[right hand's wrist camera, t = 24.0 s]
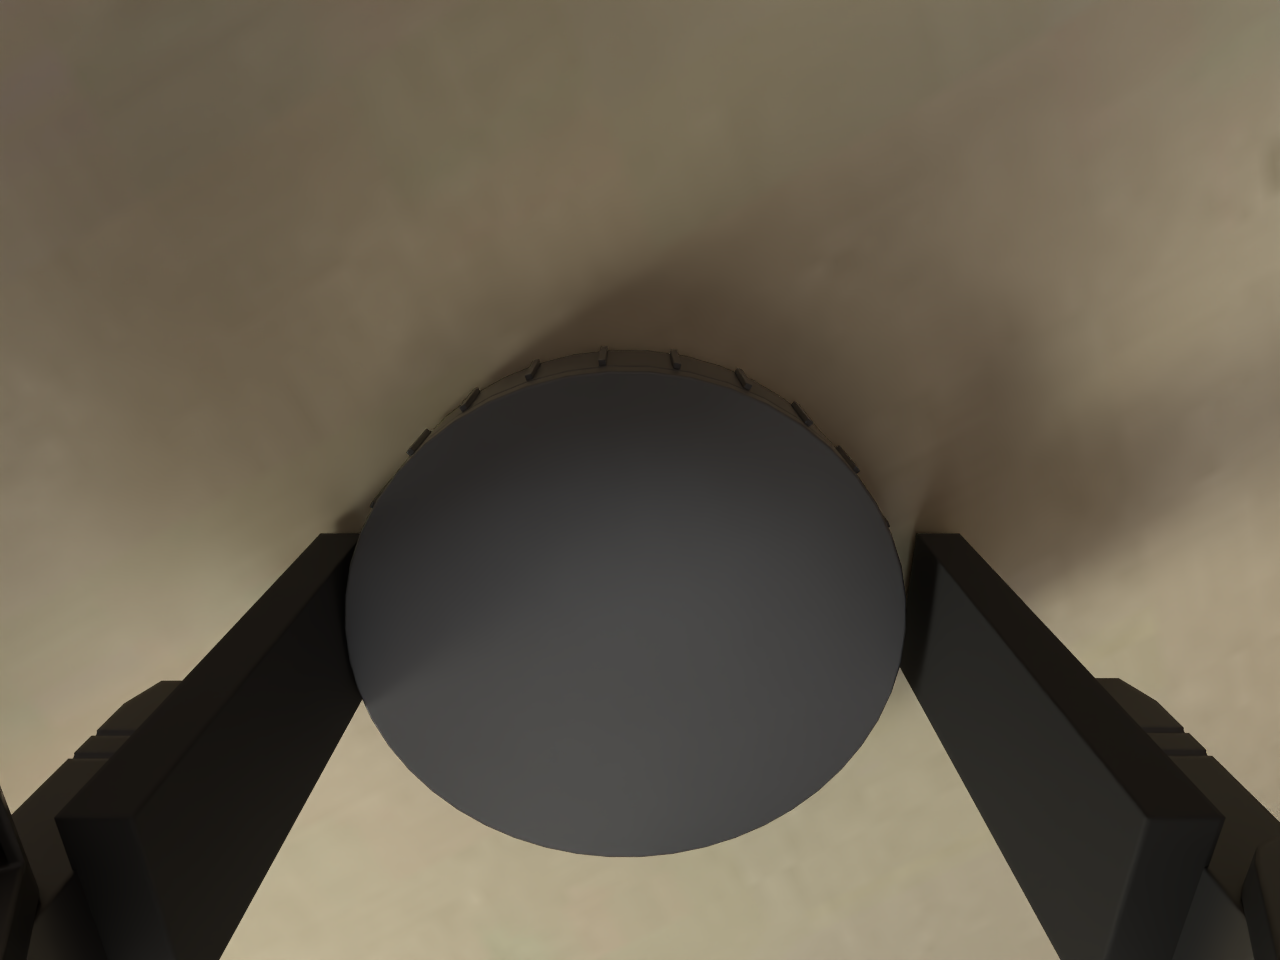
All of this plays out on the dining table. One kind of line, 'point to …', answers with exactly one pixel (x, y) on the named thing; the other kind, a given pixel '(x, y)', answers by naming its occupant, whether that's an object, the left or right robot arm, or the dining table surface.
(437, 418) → the dining table surface
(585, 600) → the lid
